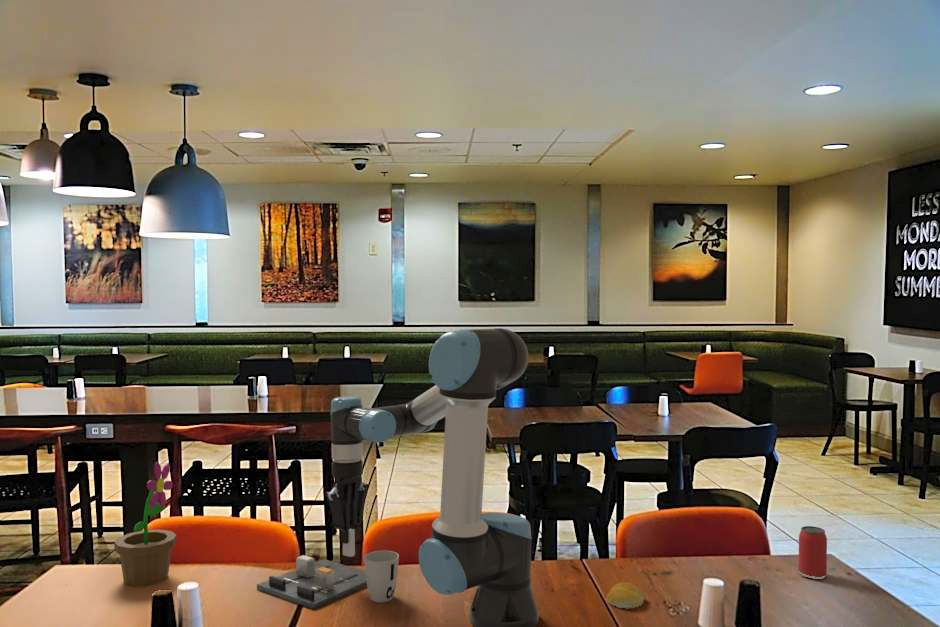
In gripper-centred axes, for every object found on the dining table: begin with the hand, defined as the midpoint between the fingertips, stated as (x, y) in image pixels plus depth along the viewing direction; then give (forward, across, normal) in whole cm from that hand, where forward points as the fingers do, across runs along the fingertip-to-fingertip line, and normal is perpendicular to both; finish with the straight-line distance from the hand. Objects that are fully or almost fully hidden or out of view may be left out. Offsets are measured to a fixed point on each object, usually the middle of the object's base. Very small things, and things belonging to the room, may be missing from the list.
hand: (348, 555), depth 188 cm
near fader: (+6, +7, -1) cm, 10 cm away
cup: (+8, +2, +12) cm, 15 cm away
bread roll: (+9, -31, +59) cm, 67 cm away
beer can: (+10, -74, +92) cm, 118 cm away
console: (+7, +4, -6) cm, 10 cm away
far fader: (+6, +4, -11) cm, 13 cm away
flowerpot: (+6, +27, -44) cm, 52 cm away
